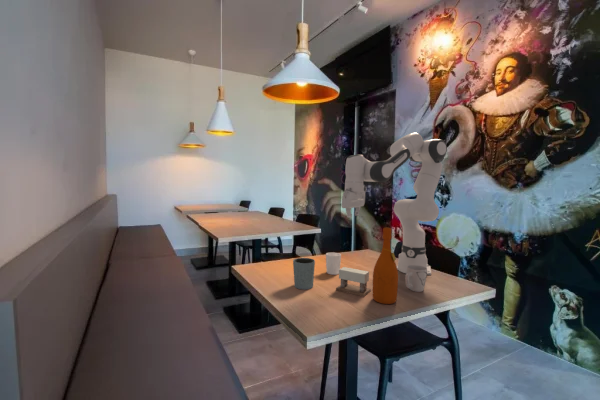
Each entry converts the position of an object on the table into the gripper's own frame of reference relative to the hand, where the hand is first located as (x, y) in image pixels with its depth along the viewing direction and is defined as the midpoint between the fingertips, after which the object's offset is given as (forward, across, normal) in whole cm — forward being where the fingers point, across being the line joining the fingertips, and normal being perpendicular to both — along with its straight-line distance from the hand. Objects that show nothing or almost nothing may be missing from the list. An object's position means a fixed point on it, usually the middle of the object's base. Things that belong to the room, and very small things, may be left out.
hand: (353, 216), depth 147 cm
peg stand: (+31, -14, -7) cm, 35 cm away
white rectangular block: (+26, -14, -7) cm, 30 cm away
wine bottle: (+31, -17, -22) cm, 42 cm away
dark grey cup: (+31, -22, +14) cm, 41 cm away
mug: (+31, +3, -29) cm, 43 cm away
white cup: (+31, +4, +12) cm, 34 cm away
